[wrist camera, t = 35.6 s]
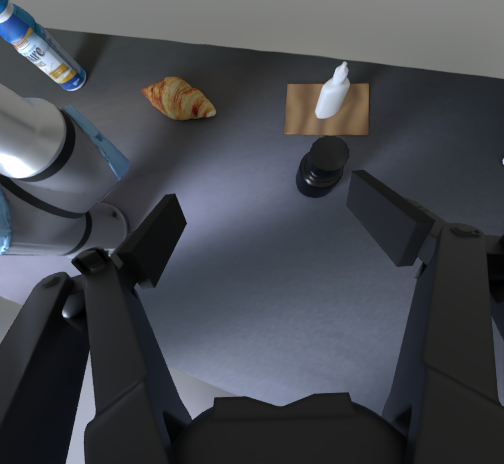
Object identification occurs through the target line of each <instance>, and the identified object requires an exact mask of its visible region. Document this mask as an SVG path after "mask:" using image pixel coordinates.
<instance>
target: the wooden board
mask: <svg viewBox="0 0 504 464" xmlns="http://www.w3.org/2000/svg"><path fill="white" fill-rule="evenodd" d="M323 85H324V84H288V88H287V101H286V114H285V127H284V134H303V135H346V136H368V123H369V84H350V87H349V89H348V92H347V94H346V96H345V98H344V101H343V103H342V105H341V107H340V109H339V111H338V113H336V114H335V115H333V116H331V117H329V118H324V119H320V118H317V116H316V113H315V109H316V106H317V103H318V99H319V96H320V93H321V90H322V87H323Z"/></svg>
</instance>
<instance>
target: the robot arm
mask: <svg viewBox="0 0 504 464" xmlns="http://www.w3.org/2000/svg"><path fill="white" fill-rule="evenodd" d="M129 166H130V164H129V161H128V159H127V158H126V157H125V156H124V155H123V154H122V153H121V152H120V151H119V150H118V149H117V148H116V147H115V146H114V145H113V144H112V143H111V142H110V141H109V140H108V139H107V138H106V137H105V136H104V135H103V134H102V133H101V132H100V131H99V130H98V129H97V128H96V127H95V126H94V125H93V124H92V123H91V122H90V121H88V120H87V119H86V118H85V117H84V116H83V115H82V114H81V113H80V112H79V111H78V110H77V109H76V108H75V107H74V106H72V105H67V106H66V107H62V109H61V110H60V109H58V108H57V107H56V106H54V105H53V104H51V103H49V102H48V101H46V100H43V99H40V98H22V97H20V96H19V95H17V94H16V93H14V92H13V91H11V90H10V89H8V88H7V87H5V86H4V85H2V84H1V83H0V255H42V256H65V257H68V258H71V259H72V261H71V263H72V264H73V265H74V266H75V267H76V268H77V269H78V270H79V271H80V272H81V273H82V274H81V275H78V276H75V277H72V278H71V277H70V276H69V275H68V274H67V273H66V272H58V273H54V274H52V275H49V276H47V277H46V278H44V279H42V280H41V281H40V282H39V283H38V284H37V285H36V286H35V287H34V289H33V290H32V292H31V294H30V295H29V297H28V299H27V300H26V302H25V304H24V305H23V307H22V309H21V310H20V312H19V314H18V316H17V317H16V319H15V320H14V322H13V324H12V326H11V327H10V329H9V330H8V332H7V334H6V336H5V337H4V339H3V341H2V342H1V344H0V464H66V459H67V455H68V450H69V445H70V440H71V436H72V430H73V426H74V421H75V416H76V412H77V407H78V402H79V398H80V393H81V388H82V383H83V379H84V374H85V369H86V365H87V360H88V355H89V350H90V355H91V366H92V376H93V386H94V397H95V406H96V415H95V417H94V419H93V420H92V421H90V422H89V423H88V424H87V426H86V429H85V432H84V455H85V464H504V406H502V405H501V403H500V402H499V398H498V391H497V379H496V367H495V355H494V342H493V330H492V318H491V315H492V317H493V319H494V321H495V324H496V326H497V328H498V330H499V332H500V334H501V336H502V338H503V340H504V235H503V236H492V235H484V234H483V232H481V231H480V230H479V229H477V228H474V227H472V226H469V225H466V224H461V223H447V222H446V221H444V220H443V219H441V218H440V217H438V216H437V215H435V214H434V213H432V212H431V211H429V210H428V209H426V208H425V207H424V208H423V206H422V205H420V204H419V203H417V202H416V201H413V200H410V199H408V198H403V197H402V196H400V195H399V194H397V193H396V192H395V191H393V190H392V189H390V188H389V187H387V186H386V185H385V184H383V183H382V182H380V181H379V180H377V179H376V178H375V177H373V176H372V175H370V174H369V173H367V172H366V171H365V170H357V171H352V176H351V181H350V187H349V193H348V198H347V204H346V206H347V207H348V208H349V209H350V210H351V212H352V213H353V214H354V215H355V216H356V218H357V219H358V220H359V221H360V223H361V224H362V225H363V226H364V227H365V229H366V230H367V231H368V232H369V233H370V235H371V236H372V237H373V238H374V239H375V241H376V242H377V243H378V244H379V246H380V247H381V248H382V249H383V250H384V252H385V253H386V254H387V255H388V256H389V258H390V259H391V260H392V261H393V262H394V264H395V265H396V266H397V267H401V266H412V265H413V264H414V262H415V260H416V258H417V256H418V257H419V258H420V259H421V260H422V261H423V263H422V265H421V267H420V268H419V270H418V272H417V274H416V276H415V277H414V278H417V282H416V287H415V291H414V295H413V299H412V304H411V308H410V312H409V316H408V320H407V325H406V329H405V333H404V337H403V342H402V346H401V350H400V354H399V358H398V363H397V367H396V371H395V375H394V380H393V384H392V388H391V392H390V394H389V397H388V399H387V401H386V404H385V406H384V409H383V412H382V416H379V415H378V414H377V413H375V412H373V411H372V410H370V409H368V408H366V407H364V406H362V405H360V404H357V403H354V402H352V401H351V398H350V395H349V392H347V393H321V394H313V395H310V396H308V397H305V398H303V399H300V400H298V401H295V402H293V403H290V404H288V405H285V406H281V407H280V406H275V405H272V404H269V403H266V402H262V401H259V400H256V399H253V398H250V397H246V396H243V397H216V398H214V405H213V407H211V408H209V409H207V410H206V411H204V412H202V413H201V414H200V415H198V416H197V417H196V418H194V419H193V420H192V418H191V416H190V415H189V412H188V411H187V409H186V408H185V406H184V404H183V403H182V401H181V399H180V397H179V394H178V392H177V389H176V387H175V385H174V382H173V380H172V377H171V375H170V372H169V370H168V367H167V365H166V362H165V360H164V357H163V355H162V352H161V350H160V348H159V345H158V343H157V340H156V338H155V335H154V333H153V330H152V328H151V325H150V323H149V320H148V318H147V316H146V313H145V311H144V308H143V306H142V303H141V301H140V298H139V296H138V293H137V291H136V290H135V289H134V286H135V285H136V283H138V284H139V285H140V287H141V288H142V289H146V288H155V287H156V285H157V283H158V281H159V279H160V277H161V274H162V272H163V270H164V268H165V266H166V264H167V262H168V260H169V258H170V256H171V254H172V252H173V250H174V248H175V246H176V244H177V242H178V240H179V238H180V236H181V234H182V232H183V230H184V228H185V226H186V224H187V222H186V220H185V217H184V215H183V212H182V210H181V207H180V205H179V202H178V199H177V197H176V194H167V195H165V196H164V197H163V198H162V199H161V201H160V202H159V203H158V204H157V205H156V207H155V208H154V209H153V210H152V211H151V212H150V214H149V215H148V216H147V217H146V218H145V220H144V221H143V222H142V223H141V224H140V225H139V227H138V228H137V229H135V230H134V231H133V232H131V233H130V227H129V222H128V219H127V217H126V215H125V214H124V213H123V212H122V211H121V210H120V209H119V208H117V207H115V206H112V205H109V204H106V203H97V202H98V201H99V200H100V199H101V198H102V197H103V196H104V195H105V194H106V193H107V192H108V191H109V190H110V189H112V188H113V187H114V186H115V185H116V184H117V183H118V182H119V181H120V180H121V178H122V177H123V176H124V174H125V173H126V172H127V171H128V170H129ZM129 233H130V234H129ZM63 316H64V317H63Z"/></svg>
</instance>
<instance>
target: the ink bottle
mask: <svg viewBox="0 0 504 464" xmlns="http://www.w3.org/2000/svg"><path fill="white" fill-rule="evenodd" d="M348 158H349V149H348V146H347V144H346V143H345V142H344V141H343V140H342V139H341V138H338V137H335V136H324V137H322V138H319V139H318V140H317V141H315V142H314V143H313V145H312V147H311V149H310V152H308V153H307V154H306V155H305V156H304V157H303V159H302V160H301V163H300V166H299V169H298V172H297V175H296V185H297V187H298V189H299V191H300V192H301V193H302V194H304V195H306V196H308V197H312V198H319V197H323V196H325V195H327V194H328V193H329V192H330V191H331V190H332V189H333V187H334V186H335V185H336V184H337V183H338V181H339V180H340V178H341V176H342V174H343V167H344V165H345V164H346V163H347V160H348Z"/></svg>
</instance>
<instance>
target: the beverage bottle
mask: <svg viewBox="0 0 504 464" xmlns="http://www.w3.org/2000/svg"><path fill="white" fill-rule="evenodd" d="M0 35H1V36H2V37H3V38H4V39H5V40H6V41H7V42H9V43H12V44H13V45H14V47H15V48H16V50H17V51H19V52H20V53H21V54H22V55H23V56H25V57H27V58H28V59H29V60H30V61H31V62H33V63H34V64H35V65H36V66H38V67H39V68H40V69H41V70H42V71H44V72H45V73H46V74H47V75H48V76H50V77H51V78H52V79H53V80H54V81H56V82H57V83H58V84H59V85H60V86H61V87H62V88H64V89H65V90H68V91H75V90H77V89H79V88H81V87H82V86H83V85H84V83H85V81H86V73H85V71H84V70H83V68H82V67H81V66H80V65H78V63H77V62H76V61H75V60H74V59H73V58H72V57H71V56H70V55H69V54H68V53H67V52H66V51H65V50H64V49H63V48H62V47H61V46H60V45H59V44H58V43H57V42H56V41H55V40H54V39H53V38H52V37H51V36H50V34H49V33H48V32H47V31H46V30H45V29H44V28H43V27H42V26H41V25H39V24H38V23H36V22H35V20H34V18H33V17H32V16H31V15H30V14H29V13H27V12H26V11H25V10H23V9H22V8H20V7H19V6H17V5H15V4H13V3H11V2H9V0H0Z"/></svg>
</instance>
